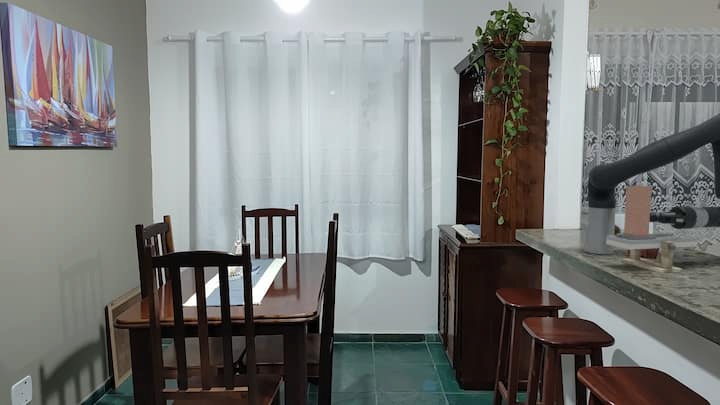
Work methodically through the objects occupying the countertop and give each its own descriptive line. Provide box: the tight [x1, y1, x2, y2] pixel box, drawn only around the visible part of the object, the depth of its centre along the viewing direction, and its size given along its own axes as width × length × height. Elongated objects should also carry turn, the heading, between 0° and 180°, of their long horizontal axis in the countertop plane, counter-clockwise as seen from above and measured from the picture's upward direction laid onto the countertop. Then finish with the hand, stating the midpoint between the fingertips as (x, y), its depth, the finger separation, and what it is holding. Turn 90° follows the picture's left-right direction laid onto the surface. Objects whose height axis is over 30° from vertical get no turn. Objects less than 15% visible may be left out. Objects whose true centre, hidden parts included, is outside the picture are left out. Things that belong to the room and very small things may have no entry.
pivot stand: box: [620, 241, 683, 274], centre depth 163 cm, size 8×18×9 cm, turn 12°
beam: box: [606, 232, 699, 250], centre depth 163 cm, size 26×10×3 cm, turn 102°
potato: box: [614, 224, 621, 235], centre depth 212 cm, size 8×13×8 cm, turn 170°
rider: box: [617, 184, 656, 240], centre depth 161 cm, size 8×8×18 cm
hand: (644, 218), depth 161 cm, fingers closed
